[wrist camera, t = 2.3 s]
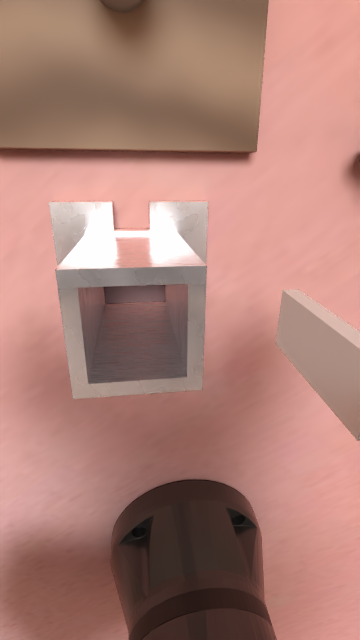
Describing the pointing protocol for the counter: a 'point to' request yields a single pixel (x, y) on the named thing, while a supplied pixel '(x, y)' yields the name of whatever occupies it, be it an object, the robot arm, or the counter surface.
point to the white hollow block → (132, 318)
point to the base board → (131, 75)
